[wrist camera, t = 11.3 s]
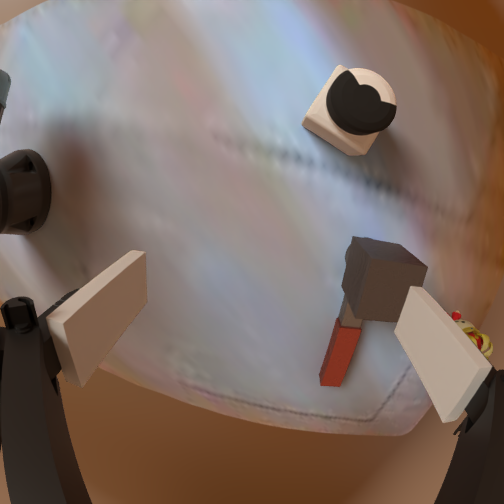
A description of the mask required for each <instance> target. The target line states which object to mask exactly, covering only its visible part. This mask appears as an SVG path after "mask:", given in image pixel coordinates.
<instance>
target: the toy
mask: <svg viewBox="0 0 504 504" xmlns="http://www.w3.org/2000/svg"><path fill="white" fill-rule="evenodd" d="M444 311H445V310H444ZM445 312H446V311H445ZM447 314H448V313H447ZM448 315H449V314H448ZM449 316H450V315H449ZM460 318H461V314H460V311H458V310H456V311H455V312H453V313H452V319H453V320H454V322H455V323H456V324H457V325H458V326H459V327H460V328H461V329H462V331H463V332H464V333H465V334H466V335H467V336H468V338H469V339H471V340H472V341H473V342H474V344H475V345H476V346H477V348H479V349H480V350H481V352H482V351H485V350H486V349H487V347H488V346H489V347H490V350H489V351H488V352H486V353H484V356H485V357H486V358H487V359H488V360H489V358H488V356H490V355H491V353H492V351H493V345H492V343H491V342H490V341H489V337H488V336H487V335H485V334H480V332H479V331H478V330H477V329H476V328H475V327H474V326H473V325H472V324H471V323H470V322H468V321H466V320H459V319H460ZM481 336H482V337H481ZM481 344H482V345H483V347H482V349H481ZM482 354H483V353H482Z"/></svg>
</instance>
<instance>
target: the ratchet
mask: <svg viewBox="0 0 504 504" xmlns="http://www.w3.org/2000/svg"><path fill="white" fill-rule="evenodd" d="M364 238H366V237H364ZM367 239H371V238H367ZM350 246H351V244H350ZM350 246H349V247H348V249H347V251H346V255H345V261H346V264H347V260H348V256H349V251H350ZM362 320H363V319H355V317H354V315H353V313H352V310H351V308H350V305H349V303H348V300H347V298H346V296H345V295H344V298H343V302H342V306H341V309H340V313H339V317H338V318H337V319H336V322H335V326H334V329H333V333H332V336H331V339H330V342H329V346H328V349H327V352H326V355H325V358H324V361H323V364H322V367H321V370H320V373H319V378H320V386H336V387H340V385H341V383H342V380H343V378H344V376H345V373H346V371H347V368H348V365H349V363H350V360H351V358H352V355H353V352H354V350H355V347H356V344H357V341H358V338H359V336H360V333H361V327H360V326H361V323H362Z"/></svg>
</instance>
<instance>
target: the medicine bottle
mask: <svg viewBox="0 0 504 504" xmlns="http://www.w3.org/2000/svg"><path fill="white" fill-rule="evenodd" d="M396 107H397V106H396V98H395V95H394V92H393V90H392V88H391V87H390V85H389V84H388V83H387V81H386V80H385V79H384V78H382V77H381V76H380V75H378V74H377V73H375V72H373V71H370V70H367V69H362V68H354V69H347V68H346V67H344V66H342V65H338V66H337V67H336V69H335V70H334V72H333V73H332V75H331V76H330V78H329V79H328V81H327V82H326V84H325V85H324V87H323V88H322V90H321V91H320V93H319V94H318V96H317V97H316V99H315V101H314V102H313V104H312V105H311V107H310V108H309V110H308V111H307V113H306V115H305V117H304V119H303V121H302V123H301V124H302V126H303V127H305V128H307V129H308V130H310V131H312V132H313V133H315V134H316V135H318V136H319V137H321V138H323V139H324V140H326V141H327V142H329V143H330V144H332V145H333V146H335V147H336V148H338V149H339V150H341V151H342V152H343V153H345V154H346V155H348V156H355V155H365V154H366V153H367V152H368V150H369V148H370V147H371V145H372V143H373V142H374V140H375V139H376V137H377V135H378V134H379V132H380V131H382V130H384V129H385V128H387V127H388V126H389V125H390V124H391V122H392V121H393V119H394V117H395V114H396Z"/></svg>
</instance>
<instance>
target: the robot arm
mask: <svg viewBox="0 0 504 504" xmlns="http://www.w3.org/2000/svg"><path fill="white" fill-rule="evenodd" d="M10 85H11V79H10V76H9V75H8V73H6V72H5V71H3V70H0V123H1V119H2V115H3V112H4V109H5V108H6V100H7V96H8V92H9V89H10ZM50 199H51V187H50V179H49V174H48V171H47V168H46V165H45V163H44V161H43V159H42V158H41V157H40V155H39V154H38V153H37V152H35V151H33V150H30V149H24V150H17V151H14V152H12V153H10V154H8V155H7V156H5V157H3V158H2V159H0V234H15V235H25V234H29V233H31V232H34V231H36V230H38V229H39V228H40V227H41V226H42V225H43V223H44V221H45V219H46V217H47V215H48V211H49V207H50ZM146 303H147V286H146V252H143V251H136V250H131V251H130V252H128V253H127V254H125V255H124V256H123V257H121V258H120V259H119V260H117V261H116V262H115V263H113V264H112V265H111V266H109V267H108V268H107V269H105V270H104V271H103V272H101V273H100V274H99V275H98V276H96V277H95V278H94V279H92V280H91V281H90V282H89V283H87V284H86V285H85V286H83V287H82V288H81V289H76V290H74V291H72V292H69V293H67V294H66V295H65V296H64V297H62V298H61V300H59V301H57V302H56V303H55V305H52V306H51V307H50V308H49V309H47V310H46V311H45V312H44V313H43V314H41V315H40V316H39V317H38V318H37V315H36V311H35V307H34V303H33V300H32V299H30V298H28V297H15V298H12V299H10V300H8V301H6V302H5V303H4V304H2V306H1V308H0V309H1V313H2V316H3V319H4V322H5V326H6V327H0V450H1V444H2V450H3V460H4V468H5V475H6V481H7V487H8V492H9V496H10V501H11V504H92V502H91V499H90V497H89V494H88V492H87V489H86V486H85V484H84V481H83V478H82V475H81V472H80V469H79V466H78V463H77V460H76V457H75V453H74V450H73V446H72V443H71V439H70V435H69V432H68V427H67V423H66V418H65V414H64V409H63V404H62V398H61V393H60V387H59V382H58V379H57V376H56V375H57V374H58V373H59V372H60V370H61V369H62V372H63V375H64V377H65V380H66V381H67V382H69V383H72V384H74V385H76V386H79V387H81V388H82V387H83V386H84V385H85V383H86V382H87V380H88V379H89V378H90V376H91V375H92V374H93V372H94V371H95V370H96V368H97V367H98V365H99V364H100V363H101V361H102V360H103V359H104V357H105V356H106V355H107V353H108V352H109V351H110V349H111V348H112V347H113V345H114V344H115V343H116V341H117V340H118V339H119V338H120V336H121V335H122V334H123V332H124V331H125V330H126V329H127V327H128V326H129V325H130V323H131V322H132V321H133V320H134V318H135V317H136V316H137V314H138V313H139V312H140V311H141V309H142V308H143V307H144V306H145V304H146ZM394 333H395V335H396V336H397V338H398V340H399V341H400V343H401V345H402V347H403V348H404V350H405V352H406V354H407V355H408V357H409V359H410V361H411V362H412V364H413V366H414V368H415V370H416V372H417V373H418V375H419V377H420V379H421V381H422V383H423V385H424V387H425V388H426V390H427V392H428V394H429V396H430V398H431V400H432V402H433V404H434V406H435V408H436V410H437V412H438V414H439V416H440V418H441V420H442V422H443V423H446V422H451V421H456V420H457V419H458V417H459V416H460V415H461V414H462V412H463V411H464V409H465V411H466V412H467V414H468V415H467V417H466V418H465V419H464V420H463V422H462V423H461V424H460V425H459V427H458V428H457V429H456V430H455V432H454V435H456V433H457V432H458V431H460V434H459V435H458V437H459V438H458V441H457V445H456V448H455V451H454V454H453V457H452V460H451V463H450V466H449V469H448V472H447V474H446V477H445V479H444V482H443V484H442V487H441V489H440V491H439V494H438V496H437V498H436V500H435V503H434V504H504V370H499V371H496V370H495V368H494V367H493V366H492V364H491V363H490V362H489V360H488V359H487V358H486V357H485V356H484V354H482V352H481V351H480V349H479V348H477V346H476V345H475V344H474V342H473V341H472V340H471V339H469V338H468V336H467V335H466V334H465V333H464V332H463V331H462V329H461V328H460V327H459V326H458V325H457V324H456V323H455V322H454V320H453V319H452V318H451V317H450V316H449V315H448V314H447V313H446V312H445V311H444V310H443V308H442V307H441V306H440V305H439V304H438V303H437V302H436V301H435V300H434V299H433V298H432V297H431V296H430V295H429V294H428V293H427V292H426V291H425V290H424V289H423V288H422V287H415V286H410V289H409V292H408V295H407V298H406V301H405V304H404V307H403V309H402V312H401V315H400V318H399V320H398V323H397V326H396V328H395V331H394Z"/></svg>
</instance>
